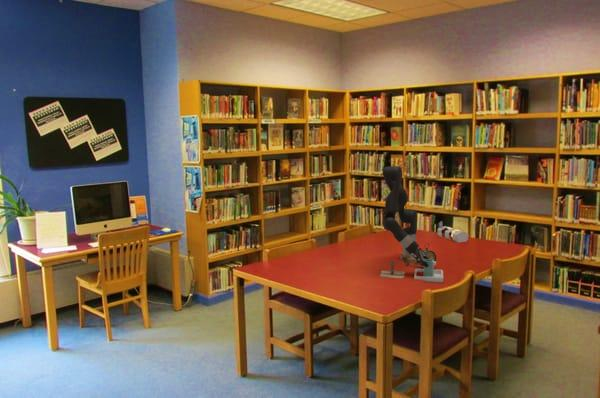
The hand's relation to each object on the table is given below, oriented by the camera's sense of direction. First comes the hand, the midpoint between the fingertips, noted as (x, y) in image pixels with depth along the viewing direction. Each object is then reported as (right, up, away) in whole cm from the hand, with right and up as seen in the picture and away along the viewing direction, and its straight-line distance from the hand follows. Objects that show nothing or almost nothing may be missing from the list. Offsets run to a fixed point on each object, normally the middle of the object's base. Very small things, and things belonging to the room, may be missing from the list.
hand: (428, 264), depth 290 cm
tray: (0, -8, +1) cm, 8 cm away
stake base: (-20, -8, +6) cm, 23 cm away
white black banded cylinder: (+44, +7, +98) cm, 108 cm away
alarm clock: (+4, -5, +20) cm, 21 cm away
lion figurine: (-6, -5, +23) cm, 24 cm away
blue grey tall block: (0, -7, +1) cm, 7 cm away
